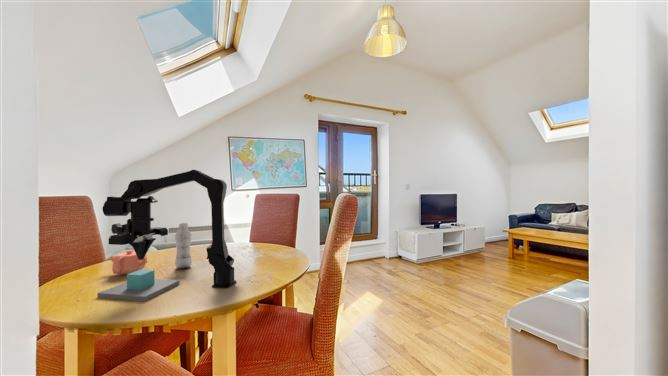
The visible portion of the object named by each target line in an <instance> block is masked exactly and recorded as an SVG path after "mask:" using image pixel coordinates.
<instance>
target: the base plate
mask: <svg viewBox="0 0 668 376" xmlns="http://www.w3.org/2000/svg"><path fill="white" fill-rule="evenodd" d="M178 285H180V280H178V279H164V278H162V279H161V278H154V284H153V285H151V286H149V287H146V288H144V289H142V290H136V289H127V281H124V282H123V283H120V284H117V285H114V286H113V287H109V288H107V289H105V290H102V291H100V292H97V298H99V299H112V300H122V301H123V300H126V301H136V302H139V301H140V302H147V301H149V300H151V299H153V298H154V297H157V296H158V295H161V294H163V293H164V292H167V291H168V290H169V291H170V289H172V288H175V287H176V286H178Z"/></svg>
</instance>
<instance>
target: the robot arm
mask: <svg viewBox="0 0 668 376" xmlns="http://www.w3.org/2000/svg"><path fill="white" fill-rule="evenodd" d="M191 182H195V183H197V184H198V185H200V186H202V187H204V188H205V189H206V192H207V195H208V198H209V201H210V205H211V206H210V207H211V232H212V233H211V240H212V241H211V244H210V245H208V246H207V247H206V252H207V254H206V255H207V256H206V260H208V263H209V265H211V266H212V267H213V269H214V272H213V284H212V285H211V288H224V289H228V288H230V287H231V286H233V285H234V284H236V283H237V280H236V279H235V267H234V266H233V265H234V263H235V258H234V257H232V256H231V255H230V253H229V251H228V246H227V243H226V239H225V216H224V215H225V214H224V213H225V212H224V203H225V198H226V194H227V189H228V187H227V186H228V185H227V183H226V182H225V181H224V180H222V179H218V178H214V177H212V176H210V175H208V174H206V173H204V172H202V170H199V169H191V170H189V171H185V172H181V173H180V172H179V173H177V174H172V175H166V176H164V177H159V178H150V179H148V178H147V179H134V180H131V181H130V182H129V183H128V186H127V189H126V190H125V191H124V192H123V194H122V195H121V196H107V197H106V200H105V201H104V203H103V206H102V213H103V214H104V216H105V217H127V216H128V215H129V214H130V218H128V219H127V220H126V223H124V224H121V223H120V222H118V223H114V224H111V229H110V230H111V233H112V235H110V236H109V237H108V245H114V246H115V245H116V246H117V245H118V246H125V245H130V246H131V247H132V248H133V250H134V252H135V253H136V255H137V257H138V259H139V260H142V259H144V257H145V255H146V256H147V253H148V251H149V250H150V248H151V247H152V244H153V243H154V242H155V240H157V238H155V237H153V236H157V235H158V236H159V235H160V236H161V237H163V236H164V237H166V236H168V234H169V230H168V229H167V228H166V227H161V226H160V227H157V226H155V227H152V223H151V222H153V221H154V220H155V218H154V217H152V215H151V214H152V212H151V211H152V209H151V208H152V206H151V205H152V204H153V203H155V204H156V203H158V200H157V199H156V198H155V197H154V196H153V194H155V193H157V192H159V191H162V190H164V189H166V188H171V187H175V186H179V185H183V184H187V183H191ZM142 197H143V198H142Z"/></svg>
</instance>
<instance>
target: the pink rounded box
mask: <svg viewBox="0 0 668 376" xmlns="http://www.w3.org/2000/svg"><path fill="white" fill-rule="evenodd" d="M133 250H134V249H133ZM133 250H132V249H129V250H126V251H125V252H123V253H120V254H116V255H112V256H110V257H109V260H110V261H111V262H112V268H111V269H112V273H113V274H114V275H116V277H119V276H122V275H123V274H124V275H125V274H126V275H127V274H129V273H132V272H135V271H138V270H141V269H142V270H144V268H145V267H146V264H147V263H148V257H147V254H146V255H145V257H144V259H142V260H139V259H138V257H137V255H136V253H135V251H133Z"/></svg>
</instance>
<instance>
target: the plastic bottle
mask: <svg viewBox="0 0 668 376" xmlns="http://www.w3.org/2000/svg"><path fill="white" fill-rule="evenodd" d="M188 228H189V223H185V222H184V223H178V230H177V231H176V233H175V235H174V238H175V246H176V247H175V248H176V255H175V260H174V261H175V267H176V269H186V268H190V267H191V266H192V256H191V241H192V233H191V231H190V230H189V229H188Z"/></svg>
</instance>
